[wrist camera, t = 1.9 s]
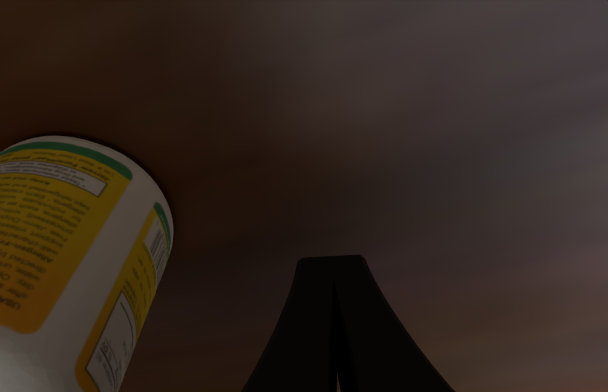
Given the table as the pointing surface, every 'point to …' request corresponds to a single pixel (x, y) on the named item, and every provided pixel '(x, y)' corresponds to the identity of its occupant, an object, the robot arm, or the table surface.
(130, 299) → the supplement bottle
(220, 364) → the table surface
